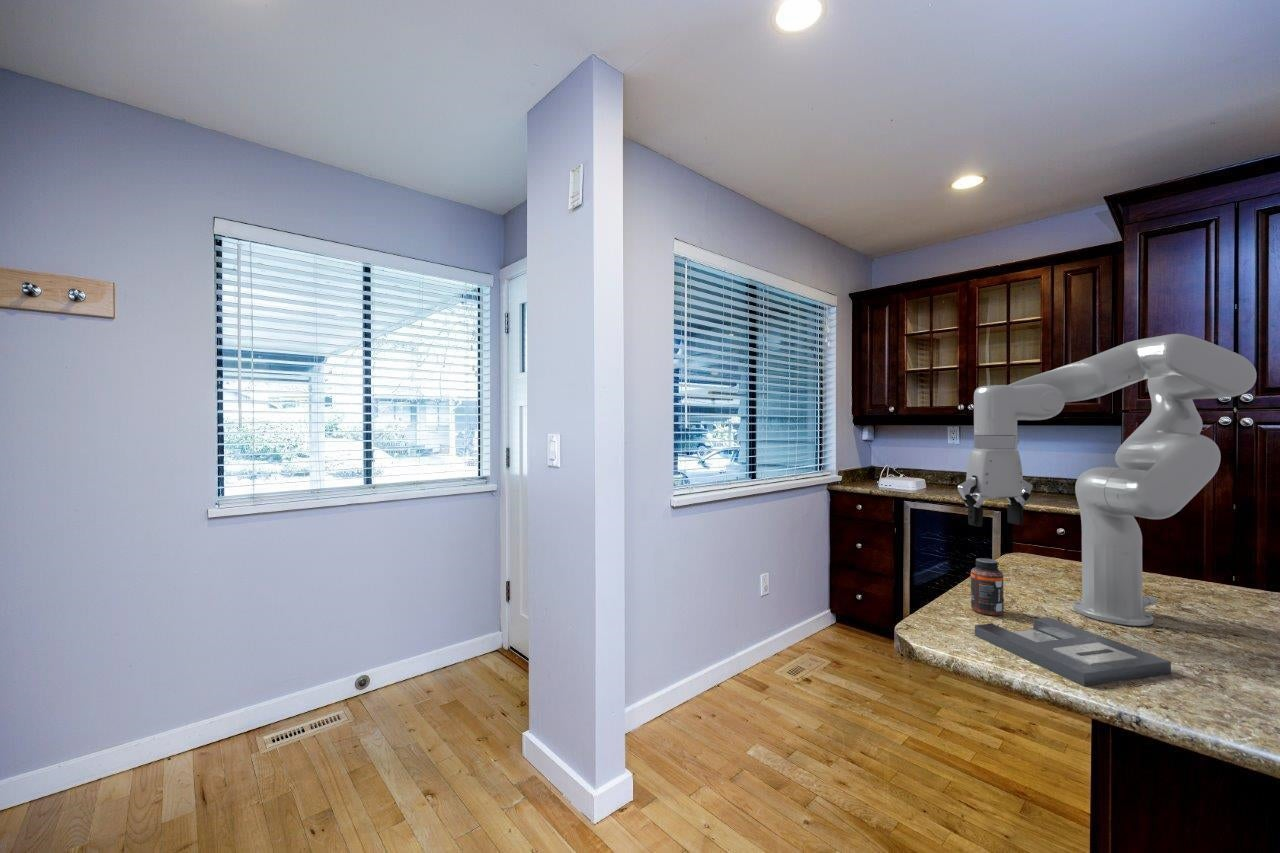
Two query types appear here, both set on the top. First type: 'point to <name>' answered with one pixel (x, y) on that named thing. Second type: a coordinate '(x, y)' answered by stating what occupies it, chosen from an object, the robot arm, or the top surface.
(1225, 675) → the top surface
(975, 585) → the supplement bottle
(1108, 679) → the plate
